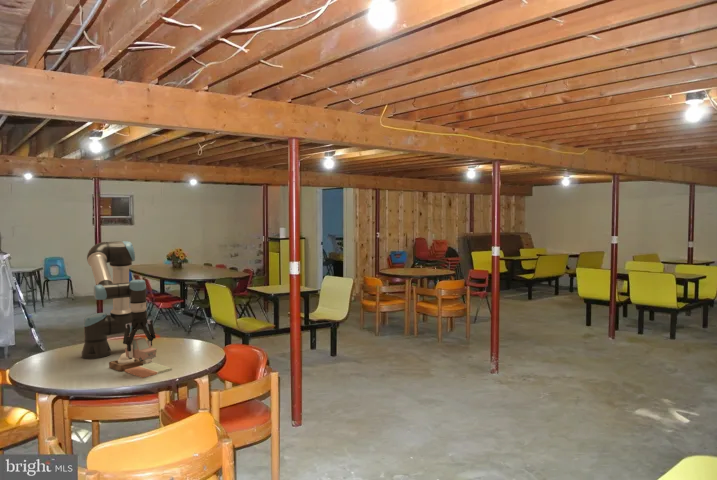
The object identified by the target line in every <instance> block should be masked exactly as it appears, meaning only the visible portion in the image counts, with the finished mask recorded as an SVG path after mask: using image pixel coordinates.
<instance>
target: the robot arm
mask: <svg viewBox="0 0 717 480" xmlns="http://www.w3.org/2000/svg"><path fill="white" fill-rule="evenodd" d="M86 261H87V263H88V265H89V266H90V267H91V271H92V273H93V278H94V281H95V284H96V285H94V286H93V295H94V299H95V300H97V301H100V300H101V301H105V300H112V307H113V308H112V309H111V310H110V314H108V315H107V313H106V312H99V313H93V314H89V315H87V316H86V317H84V319H83V325H82V327H83V338H84V339H83V340H84V344H83V347H82V351H81V354H80V355H81V358H82V359H87V360H89V359H90V360H92V359H93V360H94V359H100V358H106V357H108V356H110V355H111V354H112V348H111V346H110V345H109V342H108V336H115V335H123V334H124V335H123V340H122V344H123V345H126V348H127V351H129V357H130V358H133V345H132V344H131V343H132V341H133V338H135V336H136V333H137V332H138V331H139V330H142V331H143V333H144V335H145V338H146V341H147V342H148V344H149V346H150V345H151V346H152V347H153V341H154V339H156V338H157V337H156V333H155V329H154V327H153V326H154V325H153V323H154V322H153V321H154V320H152V319H147V318H148V311H147V285H146V284H147V283H146V280H144V279H132V280H130V267H132V265H133V262H135V261H136V252H135V249H134V246H133V243H132V242H131V241H129V240H128V241H127V240H126V241H124V240H121V241H102V242H98V243H96V244H94V245H93V246H92V247H91V248H89V251H88V252H87V254H86ZM107 263H109V267H111V268H112V276H111V274H110V270H109V267H108V264H107ZM152 347H150V348H152Z"/></svg>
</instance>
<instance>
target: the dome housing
mask: <svg viewBox="0 0 717 480" xmlns="http://www.w3.org/2000/svg"><path fill="white" fill-rule="evenodd" d="M108 362H109V363H108V365H109V367H108V368H109V369H112V370H115V371H118V372H125V370H126V369H130V368H134V367H138V366H142V365H144V363H143V361H140V360H139V359H136V358H134V362H132V363H127V364H123V365H122V364H119V363H118V359H117V360H112V361H111V360H110V361H108Z"/></svg>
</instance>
